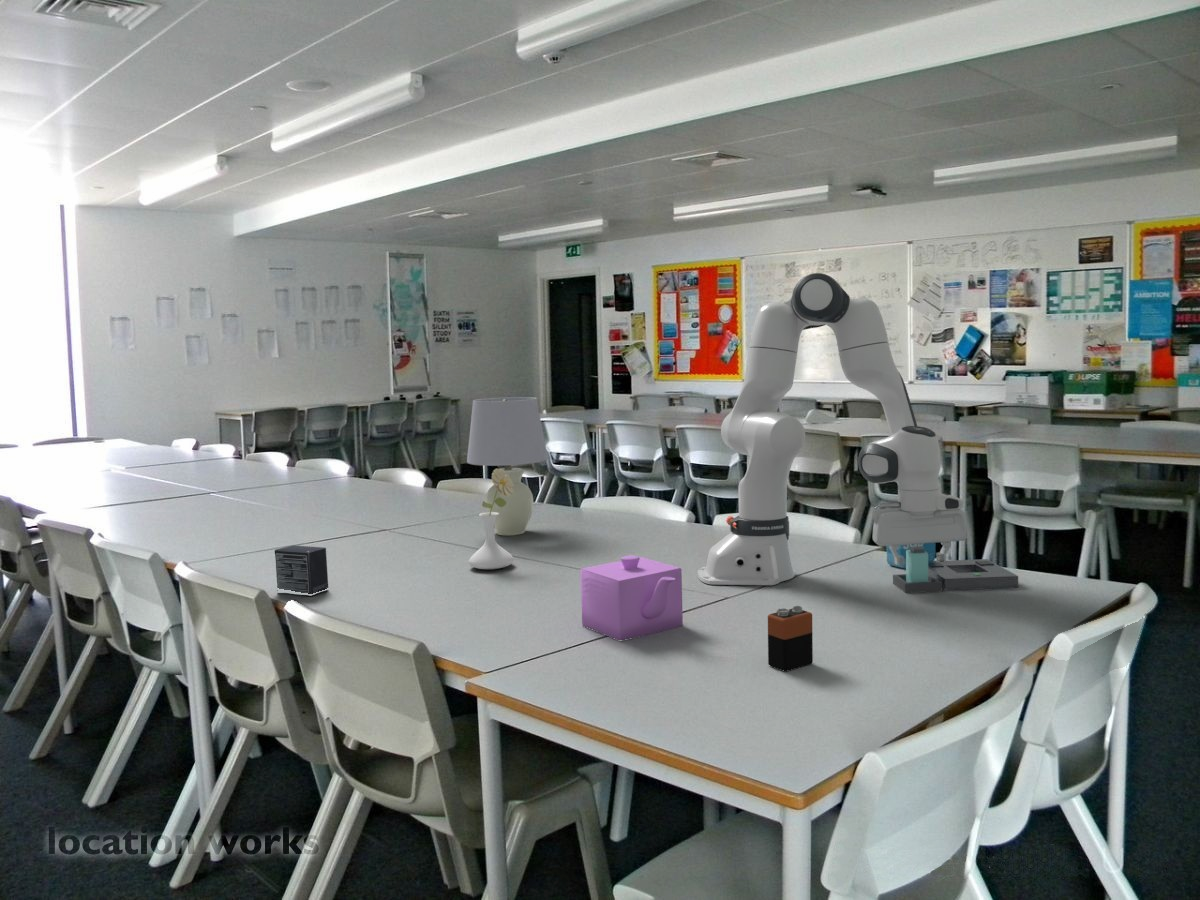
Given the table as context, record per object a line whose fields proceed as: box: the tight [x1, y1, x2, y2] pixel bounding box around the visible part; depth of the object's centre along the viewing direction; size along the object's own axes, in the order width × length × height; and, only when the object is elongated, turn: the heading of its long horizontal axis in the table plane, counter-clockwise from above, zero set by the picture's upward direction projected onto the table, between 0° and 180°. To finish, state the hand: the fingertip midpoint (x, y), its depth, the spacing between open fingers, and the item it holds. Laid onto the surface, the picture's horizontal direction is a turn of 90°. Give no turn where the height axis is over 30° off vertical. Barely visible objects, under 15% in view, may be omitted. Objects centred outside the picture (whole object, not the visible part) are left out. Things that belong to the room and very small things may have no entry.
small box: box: [274, 544, 329, 594], centre depth 221 cm, size 11×6×10 cm, turn 65°
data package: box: [886, 543, 936, 570], centre depth 228 cm, size 12×4×12 cm, turn 120°
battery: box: [767, 605, 814, 672], centre depth 161 cm, size 4×7×10 cm, turn 123°
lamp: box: [466, 396, 549, 537], centre depth 281 cm, size 24×24×40 cm
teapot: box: [579, 554, 684, 641], centre depth 185 cm, size 15×25×14 cm, turn 35°
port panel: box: [928, 558, 1019, 591], centre depth 213 cm, size 16×16×3 cm
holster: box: [892, 573, 943, 594], centre depth 208 cm, size 8×8×2 cm
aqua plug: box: [905, 547, 928, 583], centre depth 208 cm, size 4×4×9 cm
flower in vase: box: [468, 468, 515, 570], centre depth 239 cm, size 13×11×25 cm
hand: (920, 562), depth 208 cm, fingers open, 8 cm apart
